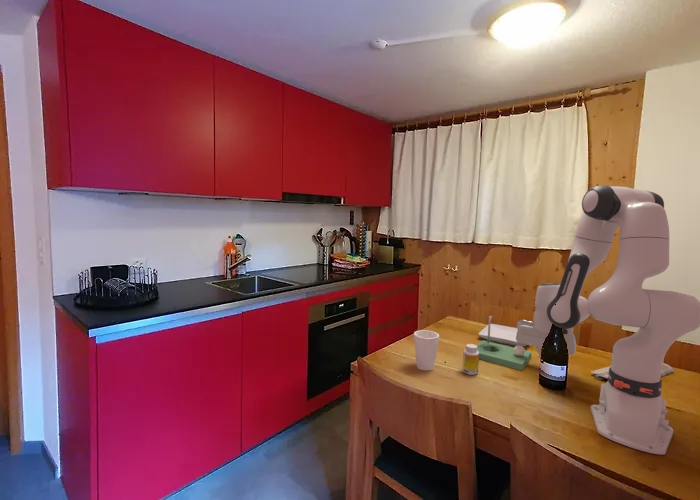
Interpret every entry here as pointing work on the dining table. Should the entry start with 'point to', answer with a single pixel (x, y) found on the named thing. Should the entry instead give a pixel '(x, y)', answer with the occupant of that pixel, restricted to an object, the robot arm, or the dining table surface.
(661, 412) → the robot arm
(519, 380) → the dining table surface
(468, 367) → the supplement bottle
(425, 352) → the foam cup
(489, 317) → the flag pin
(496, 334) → the salad plate
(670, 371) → the newspaper
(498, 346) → the golf putting green
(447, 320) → the dining table surface
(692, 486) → the dining table surface
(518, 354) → the ball
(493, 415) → the dining table surface
